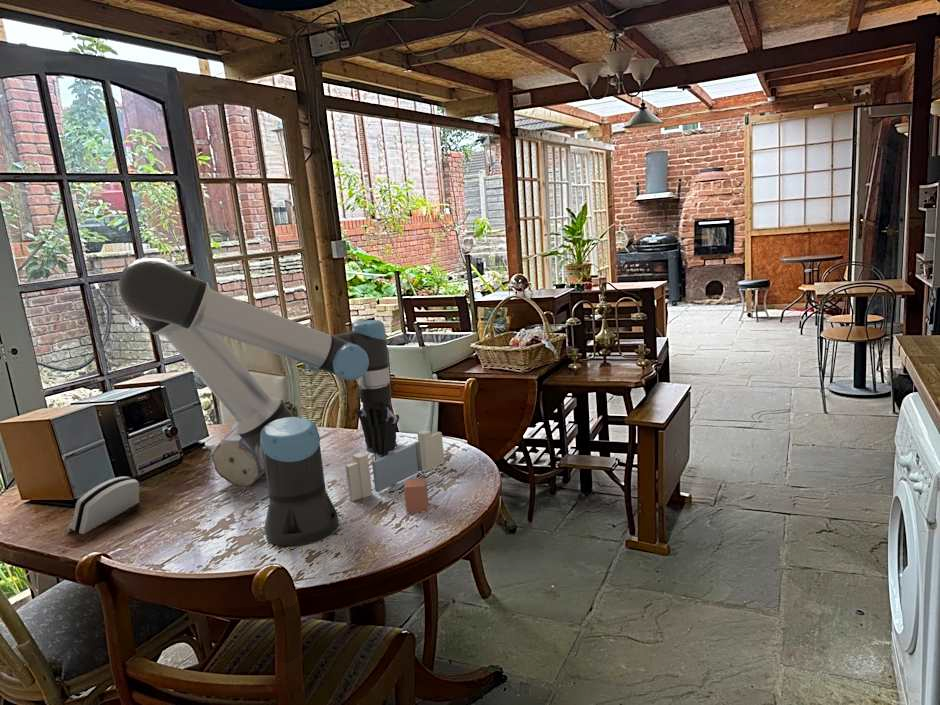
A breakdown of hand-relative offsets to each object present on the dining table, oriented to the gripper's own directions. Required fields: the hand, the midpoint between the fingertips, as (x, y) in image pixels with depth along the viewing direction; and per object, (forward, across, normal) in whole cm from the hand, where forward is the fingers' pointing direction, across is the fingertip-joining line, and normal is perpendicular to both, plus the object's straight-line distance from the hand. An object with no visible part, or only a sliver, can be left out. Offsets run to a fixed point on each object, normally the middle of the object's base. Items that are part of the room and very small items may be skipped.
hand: (383, 477), depth 164 cm
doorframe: (+1, -3, -3) cm, 4 cm away
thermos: (+2, +20, -18) cm, 26 cm away
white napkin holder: (+3, +44, +48) cm, 65 cm away
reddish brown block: (+1, -18, +6) cm, 19 cm away
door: (+1, -4, -2) cm, 4 cm away
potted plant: (+2, +37, +9) cm, 38 cm away
